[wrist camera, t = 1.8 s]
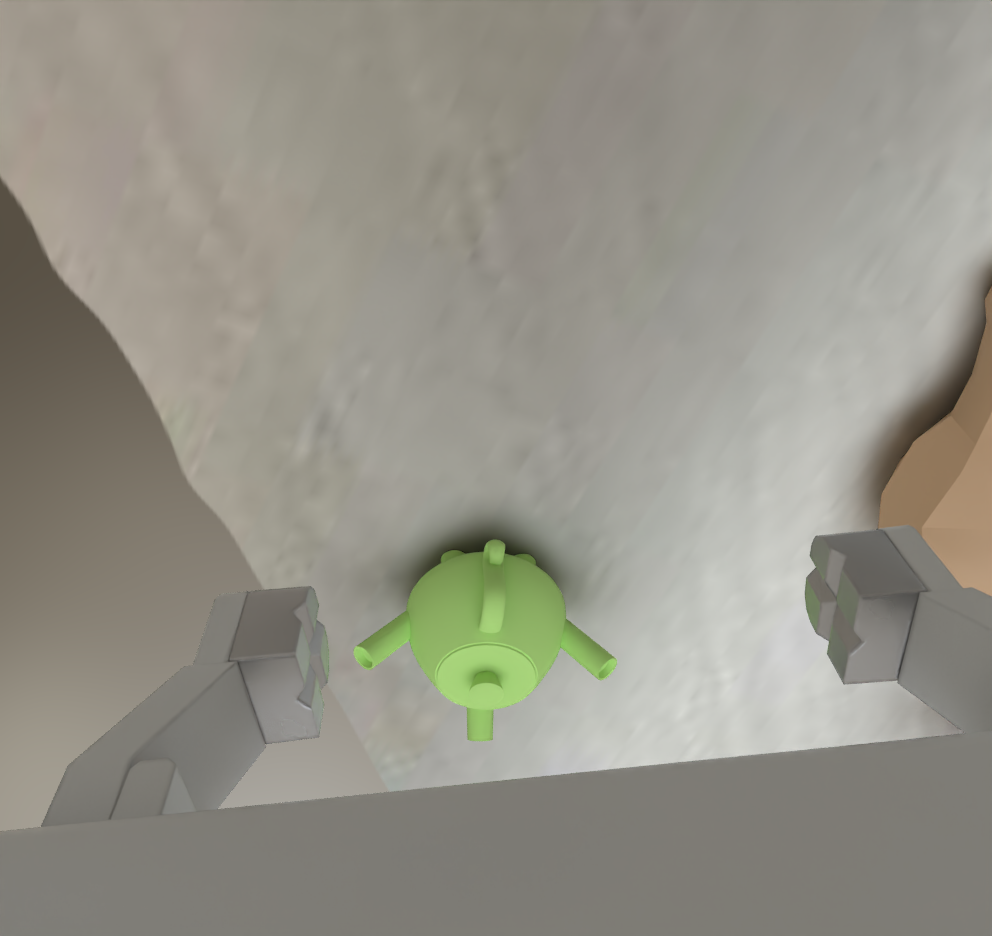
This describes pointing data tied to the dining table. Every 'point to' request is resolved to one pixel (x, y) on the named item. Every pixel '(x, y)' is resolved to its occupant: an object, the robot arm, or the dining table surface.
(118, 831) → the robot arm
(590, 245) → the dining table surface
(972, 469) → the squash
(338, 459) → the dining table surface
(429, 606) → the teapot
